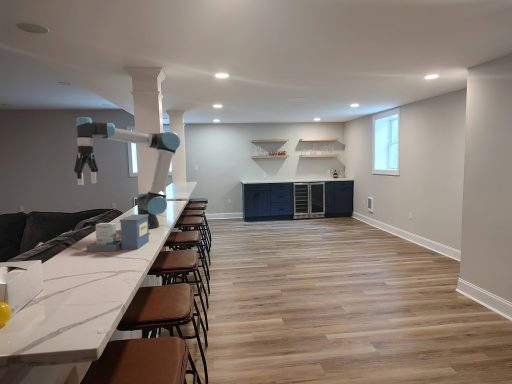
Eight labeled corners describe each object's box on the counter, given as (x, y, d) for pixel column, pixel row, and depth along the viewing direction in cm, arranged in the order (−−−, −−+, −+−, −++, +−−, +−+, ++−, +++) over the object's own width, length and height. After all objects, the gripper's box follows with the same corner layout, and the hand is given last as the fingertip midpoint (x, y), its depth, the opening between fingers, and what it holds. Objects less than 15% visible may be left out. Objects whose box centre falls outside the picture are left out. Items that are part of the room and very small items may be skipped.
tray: (98, 245, 167) (97, 240, 166) (125, 245, 166) (125, 239, 166) (87, 251, 156) (86, 245, 156) (116, 251, 156) (116, 245, 155)
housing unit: (134, 241, 175) (132, 214, 174) (149, 241, 175) (148, 214, 174) (121, 249, 159) (119, 219, 157) (138, 249, 159) (137, 219, 157)
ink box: (117, 244, 164) (116, 222, 163) (113, 247, 159) (111, 224, 158) (101, 245, 164) (99, 222, 163) (96, 247, 159) (94, 224, 158)
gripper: (79, 144, 163) (81, 185, 165) (103, 146, 188) (105, 182, 190) (64, 144, 163) (67, 185, 165) (90, 147, 188) (92, 182, 190)
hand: (87, 184), depth 177 cm, fingers open, 13 cm apart
